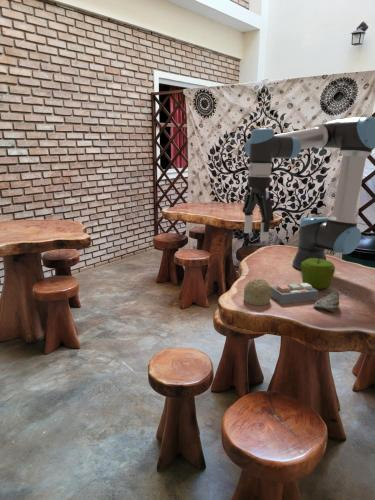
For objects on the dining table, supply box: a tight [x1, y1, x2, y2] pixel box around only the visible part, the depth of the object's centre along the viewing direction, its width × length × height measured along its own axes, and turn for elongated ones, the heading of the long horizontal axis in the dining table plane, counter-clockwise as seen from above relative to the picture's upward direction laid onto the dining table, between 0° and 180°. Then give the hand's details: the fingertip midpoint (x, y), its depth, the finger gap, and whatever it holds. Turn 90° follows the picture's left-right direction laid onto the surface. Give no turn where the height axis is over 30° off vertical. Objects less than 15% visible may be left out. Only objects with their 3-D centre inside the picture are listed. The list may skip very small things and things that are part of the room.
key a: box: [298, 282, 312, 290], centre depth 130 cm, size 3×3×2 cm
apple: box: [300, 258, 336, 290], centre depth 140 cm, size 12×12×11 cm
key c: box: [277, 284, 290, 293], centre depth 128 cm, size 3×3×2 cm
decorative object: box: [243, 278, 272, 306], centre depth 126 cm, size 9×10×10 cm
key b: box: [287, 283, 301, 291], centre depth 129 cm, size 3×3×2 cm
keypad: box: [271, 283, 319, 305], centre depth 130 cm, size 14×8×4 cm, turn 106°
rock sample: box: [313, 289, 340, 313], centre depth 121 cm, size 10×8×9 cm
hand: (255, 236), depth 129 cm, fingers open, 13 cm apart
